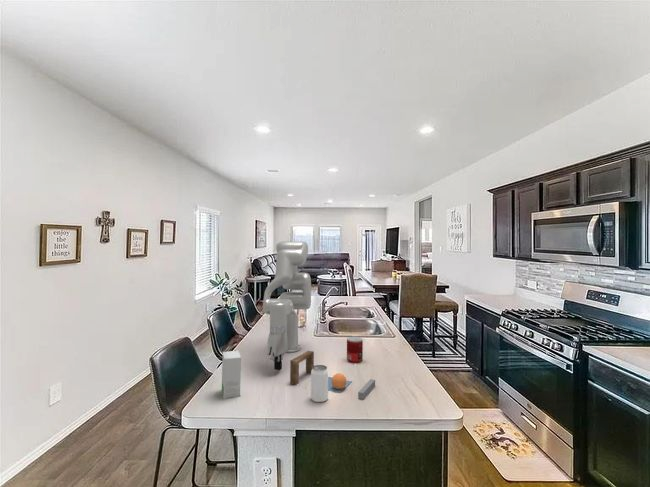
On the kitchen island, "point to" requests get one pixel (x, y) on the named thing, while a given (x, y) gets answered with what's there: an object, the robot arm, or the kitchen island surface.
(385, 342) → the kitchen island surface
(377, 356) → the kitchen island surface
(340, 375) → the ball
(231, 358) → the skincare box
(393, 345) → the kitchen island surface
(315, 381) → the can
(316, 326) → the kitchen island surface
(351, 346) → the canned food
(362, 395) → the stopper
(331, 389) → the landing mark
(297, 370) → the bridge
